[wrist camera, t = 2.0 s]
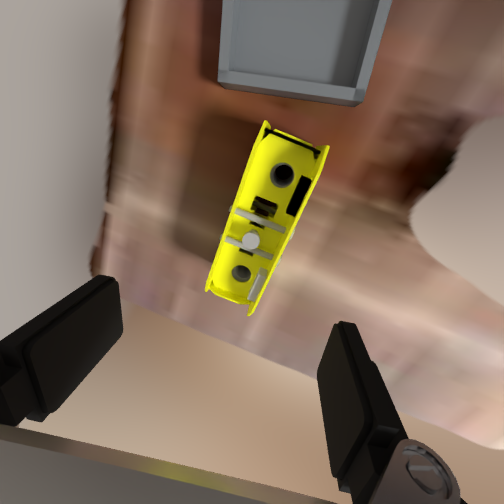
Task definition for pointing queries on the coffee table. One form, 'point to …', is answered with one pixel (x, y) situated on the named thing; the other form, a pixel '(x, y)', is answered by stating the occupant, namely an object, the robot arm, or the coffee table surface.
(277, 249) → the yellow toy chassis
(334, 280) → the coffee table surface
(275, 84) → the tray
